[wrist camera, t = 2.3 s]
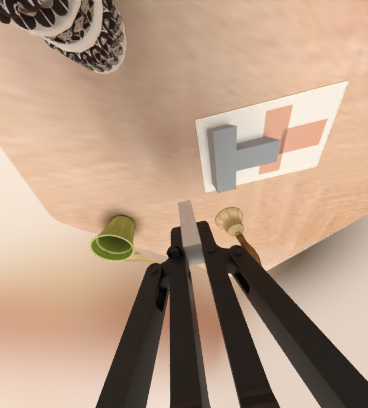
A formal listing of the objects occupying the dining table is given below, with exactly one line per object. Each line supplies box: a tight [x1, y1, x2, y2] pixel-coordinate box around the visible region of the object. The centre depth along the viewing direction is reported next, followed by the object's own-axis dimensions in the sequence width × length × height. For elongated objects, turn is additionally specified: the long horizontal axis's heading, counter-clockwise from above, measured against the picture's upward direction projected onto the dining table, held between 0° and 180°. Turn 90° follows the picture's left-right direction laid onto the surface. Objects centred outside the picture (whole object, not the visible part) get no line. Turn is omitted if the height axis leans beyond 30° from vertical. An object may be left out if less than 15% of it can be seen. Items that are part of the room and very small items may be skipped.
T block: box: [207, 124, 281, 193], centre depth 27 cm, size 12×12×4 cm
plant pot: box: [90, 216, 135, 261], centre depth 34 cm, size 9×9×9 cm
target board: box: [195, 80, 349, 192], centre depth 29 cm, size 16×28×1 cm, turn 102°
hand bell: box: [215, 207, 263, 268], centre depth 33 cm, size 8×8×16 cm
